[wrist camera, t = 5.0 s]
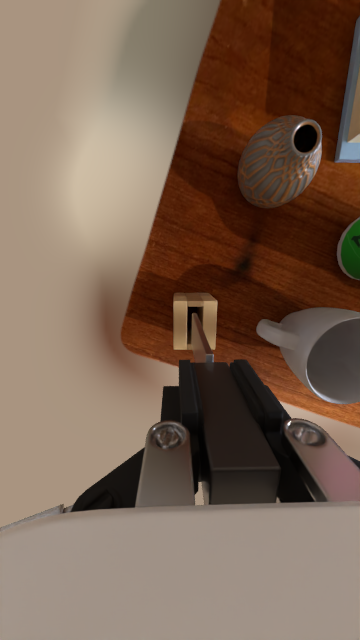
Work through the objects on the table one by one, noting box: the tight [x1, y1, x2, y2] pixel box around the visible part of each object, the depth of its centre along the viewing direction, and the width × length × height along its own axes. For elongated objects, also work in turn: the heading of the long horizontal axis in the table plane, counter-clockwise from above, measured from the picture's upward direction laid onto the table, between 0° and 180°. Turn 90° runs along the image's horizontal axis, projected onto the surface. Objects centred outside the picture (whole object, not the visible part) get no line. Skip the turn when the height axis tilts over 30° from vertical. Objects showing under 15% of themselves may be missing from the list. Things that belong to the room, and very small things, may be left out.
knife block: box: [173, 293, 217, 350], centre depth 26 cm, size 5×4×6 cm
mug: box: [256, 307, 360, 404], centre depth 24 cm, size 12×9×10 cm
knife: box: [191, 313, 281, 505], centre depth 13 cm, size 3×2×15 cm, turn 0°
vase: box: [237, 115, 322, 208], centre depth 21 cm, size 7×7×9 cm
